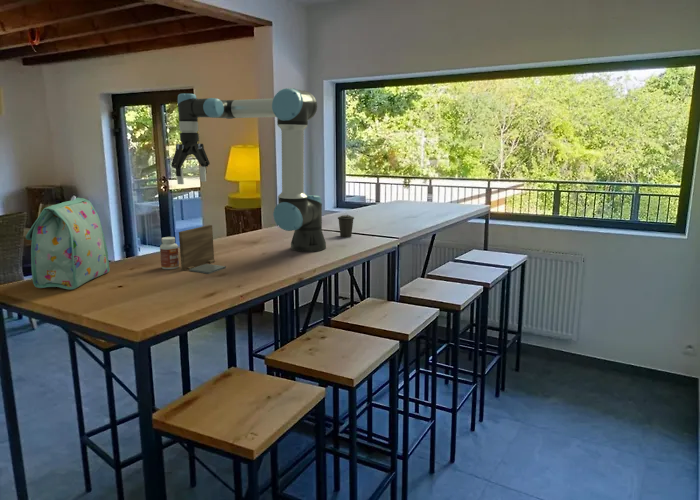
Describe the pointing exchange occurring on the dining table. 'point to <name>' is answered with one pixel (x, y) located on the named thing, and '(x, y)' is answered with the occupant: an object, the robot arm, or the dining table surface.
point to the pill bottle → (169, 253)
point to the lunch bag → (67, 245)
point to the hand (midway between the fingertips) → (192, 182)
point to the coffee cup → (345, 225)
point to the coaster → (207, 268)
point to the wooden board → (196, 247)
